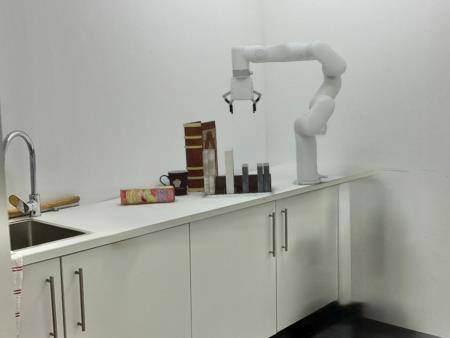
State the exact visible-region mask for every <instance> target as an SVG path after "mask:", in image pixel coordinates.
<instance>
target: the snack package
mask: <svg viewBox="0 0 450 338" xmlns="http://www.w3.org/2000/svg"><path fill="white" fill-rule="evenodd" d="M119 196H120V205H125V206H126V205H137V204H155V203H174V202H175V199H176V196H175V190H174V187H173V186H170V185H167V186H164V185H162V186H161V185H160V186H157V185H156V186H155V185H153V186H135V187H133V186H132V187H125V186H124V187H121V188H120V190H119Z"/></svg>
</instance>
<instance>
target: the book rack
mask: <svg viewBox="0 0 450 338" xmlns="http://www.w3.org/2000/svg"><path fill="white" fill-rule="evenodd" d="M203 169H204V187H205V190H204V197H205V196H224V195H225V196H226V195H228V194H227V189H226V175H218V176H216V171H215V153H214V149H205V150H204V151H203ZM234 182H235V191H234V194H233V195H244V194H265V193H266V194H268V193H269V194H270V193H273V189H272V173H270V163H269V162H257V163H256V173H253V174H249V163H242V164H241V174H234Z"/></svg>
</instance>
